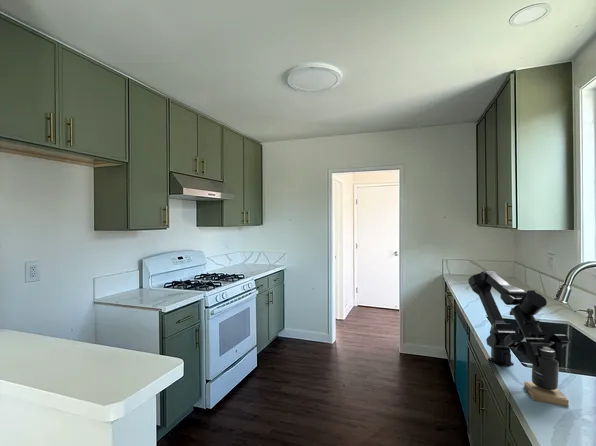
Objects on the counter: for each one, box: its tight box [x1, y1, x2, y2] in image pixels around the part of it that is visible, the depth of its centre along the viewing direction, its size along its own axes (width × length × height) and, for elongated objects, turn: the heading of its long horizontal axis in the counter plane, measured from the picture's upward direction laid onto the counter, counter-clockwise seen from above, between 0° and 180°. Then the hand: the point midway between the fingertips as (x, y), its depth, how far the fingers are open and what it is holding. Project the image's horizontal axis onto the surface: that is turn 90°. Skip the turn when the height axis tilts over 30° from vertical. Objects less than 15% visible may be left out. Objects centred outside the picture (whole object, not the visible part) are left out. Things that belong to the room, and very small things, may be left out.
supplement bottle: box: [531, 345, 560, 390], centre depth 105 cm, size 7×7×12 cm
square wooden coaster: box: [523, 381, 569, 407], centre depth 105 cm, size 9×9×2 cm
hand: (548, 366), depth 103 cm, fingers closed on supplement bottle, 7 cm apart
